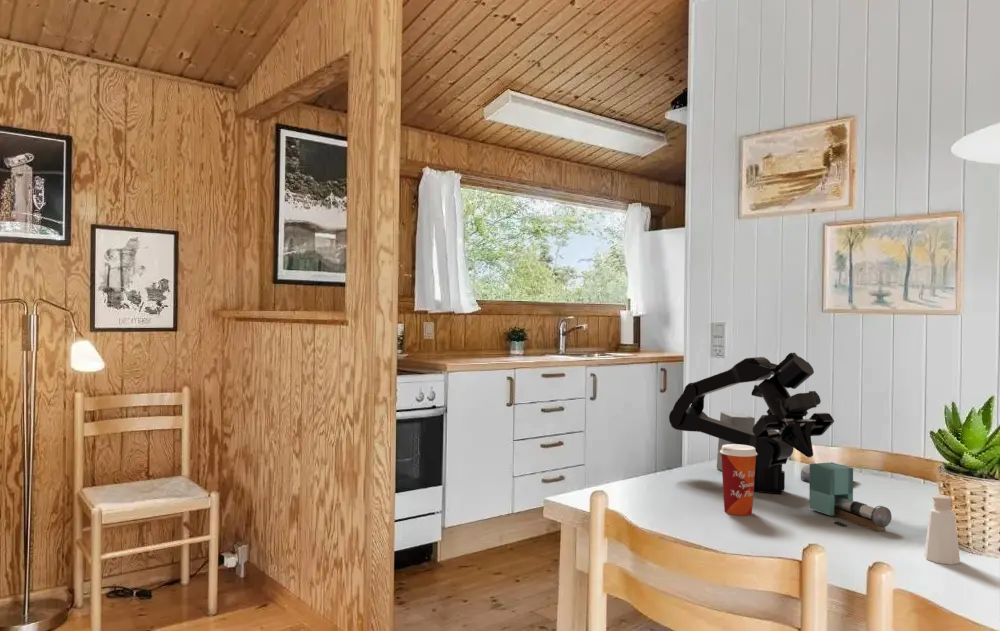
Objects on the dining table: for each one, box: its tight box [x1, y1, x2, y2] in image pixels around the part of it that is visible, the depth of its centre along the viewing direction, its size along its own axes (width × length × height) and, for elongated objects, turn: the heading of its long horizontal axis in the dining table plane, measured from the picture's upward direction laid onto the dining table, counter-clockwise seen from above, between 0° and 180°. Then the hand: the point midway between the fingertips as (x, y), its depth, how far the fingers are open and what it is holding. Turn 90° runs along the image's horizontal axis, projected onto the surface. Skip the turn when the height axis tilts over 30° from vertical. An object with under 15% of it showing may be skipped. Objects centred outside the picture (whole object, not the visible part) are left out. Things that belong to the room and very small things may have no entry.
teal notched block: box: [808, 461, 854, 516], centre depth 154 cm, size 6×6×10 cm
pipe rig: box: [833, 495, 892, 532], centre depth 149 cm, size 18×11×5 cm, turn 17°
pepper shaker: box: [923, 494, 961, 566], centre depth 124 cm, size 5×5×11 cm
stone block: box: [800, 462, 849, 482], centre depth 184 cm, size 12×5×10 cm
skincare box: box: [716, 411, 756, 472], centre depth 193 cm, size 8×7×16 cm
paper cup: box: [720, 444, 757, 517], centre depth 154 cm, size 8×8×14 cm
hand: (810, 456), depth 160 cm, fingers closed
